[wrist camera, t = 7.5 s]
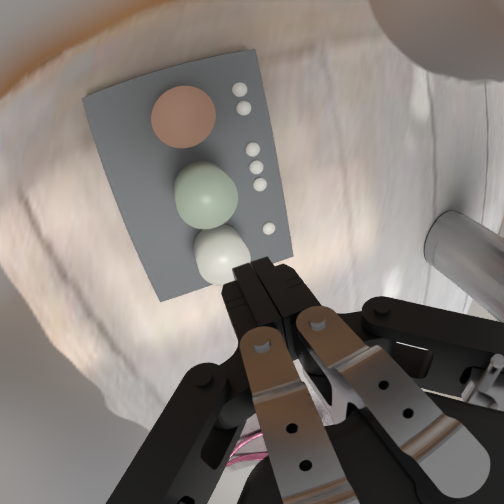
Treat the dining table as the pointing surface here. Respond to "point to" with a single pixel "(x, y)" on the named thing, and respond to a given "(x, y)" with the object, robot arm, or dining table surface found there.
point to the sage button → (205, 195)
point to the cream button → (219, 253)
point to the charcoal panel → (175, 159)
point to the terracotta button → (183, 116)
